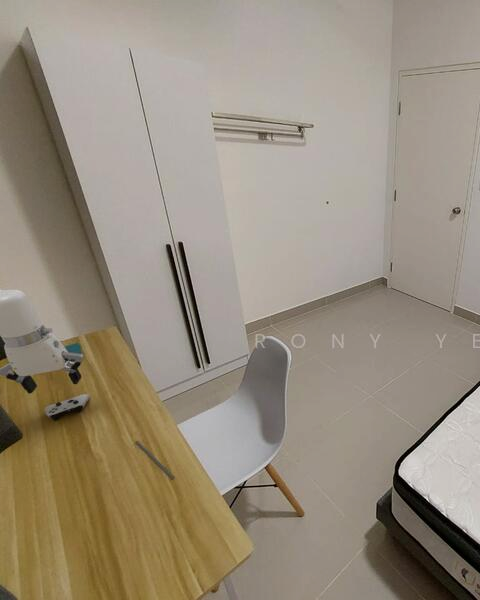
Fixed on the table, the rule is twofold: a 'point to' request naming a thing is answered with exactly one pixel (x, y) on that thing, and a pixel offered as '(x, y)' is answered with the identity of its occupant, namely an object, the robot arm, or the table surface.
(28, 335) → the robot arm
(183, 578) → the table surface
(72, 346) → the pad
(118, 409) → the table surface
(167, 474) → the rod
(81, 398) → the game controller
